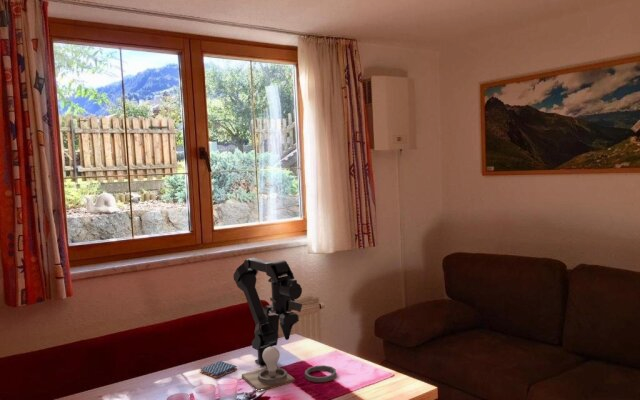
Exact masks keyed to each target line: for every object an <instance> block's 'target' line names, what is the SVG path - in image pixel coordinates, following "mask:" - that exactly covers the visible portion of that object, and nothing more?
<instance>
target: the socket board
mask: <svg viewBox="0 0 640 400" xmlns="http://www.w3.org/2000/svg"><path fill="white" fill-rule="evenodd" d="M241 378H242V379H244V380H245V382H246V383H248V384H249V385H250V386H251V387H252V388H253V387H254V388H253V389H254V390H256V389H257V390H261V389H266V390H270V389H273V388H276V387H279V386H280V387H281V386H283V385H284V386H285V385H287V384H291V383H294V382H296V379H295V377H293V376H292V375H290V374H289V373H288V372H287V370H285V369H284V368H281V367H279V366H278V365H277V367H276V376H275V377H273V378H271V377H270V376H269V372H268V368H267V367H265V368H262V369H257V370H253V371H250V372H246V373H242V374H241ZM257 390H256V391H257Z"/></svg>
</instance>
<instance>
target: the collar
mask: <svg viewBox="0 0 640 400" xmlns="http://www.w3.org/2000/svg"><path fill="white" fill-rule="evenodd" d="M317 371H326V372H330V373H331V374H328V375H325V376H313V375H310V374H311V373H313V372H317ZM336 377H337V369H336V368H334V367H333V366H329V365H315V366H311V367H308V368H307V369H305V371H304V378H305V379H306V380H307V381H308V382H313V383H326V382H328V381H329V382H330V381H332V380H334V379H335V378H336Z"/></svg>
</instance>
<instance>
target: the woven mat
mask: <svg viewBox="0 0 640 400" xmlns="http://www.w3.org/2000/svg"><path fill="white" fill-rule="evenodd" d="M237 367H238V366H237V365H235V364H234V365H233V364H232V363H229V362H226V361H222V360H220V361H217V362H214V363H211V364H210V365H207V366H204V367H201V368H200V372H199V373H201V374H204V375H208V376H210V377H212V378H215V379H217V378H221V377H222V376H225V375H227V374H229V373H233V372H234V371H236V370H238V368H237Z"/></svg>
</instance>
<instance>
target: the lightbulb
mask: <svg viewBox="0 0 640 400" xmlns="http://www.w3.org/2000/svg"><path fill="white" fill-rule="evenodd" d="M280 355H281V354H280V350H278V348H277V347H275V346H272V347H267V348H266V349H265V350H264V351H263V355H262V357H263V360H264V362H265V363H266V365H265V366H266V368H268V372H269V376H270V377H271V378H273V377H275V376H276V367H277V366H278V362H279V360H280Z"/></svg>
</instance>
